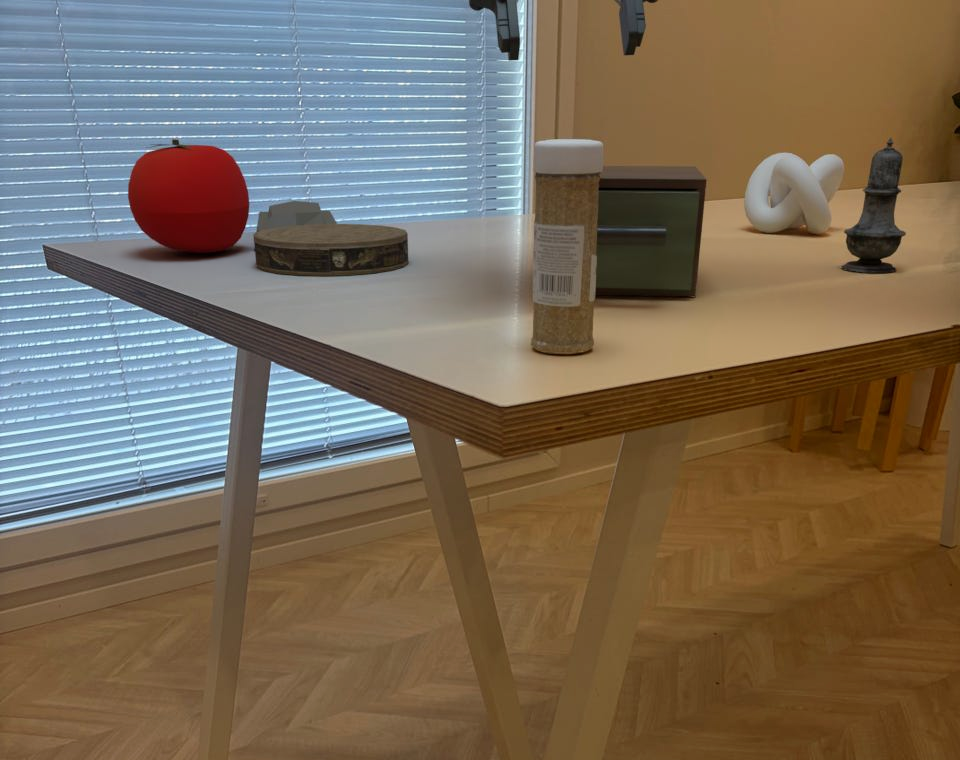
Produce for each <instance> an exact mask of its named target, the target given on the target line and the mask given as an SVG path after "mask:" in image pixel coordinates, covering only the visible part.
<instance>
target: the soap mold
mask: <svg viewBox="0 0 960 760" xmlns="http://www.w3.org/2000/svg"><path fill="white" fill-rule="evenodd" d="M257 217H258V218H257V225H256V231H255V233H256V232H259V231H261V230H266V229H272V228H277V227H287V226H297V225H314V224H338V223H337V220H336V218H335V217H334V216H333V214H332V212H331V211H330V209H329V210H325V209H324V210H322V209H321V206H320V203H319V202H313V201H312V202H311V201H300V200H299V201H298V200H290V201H287V202H281V203H277V204H271V205H269V207H268V211H259V212H258V216H257ZM253 251H254V252H255V246H254V249H253Z"/></svg>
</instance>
